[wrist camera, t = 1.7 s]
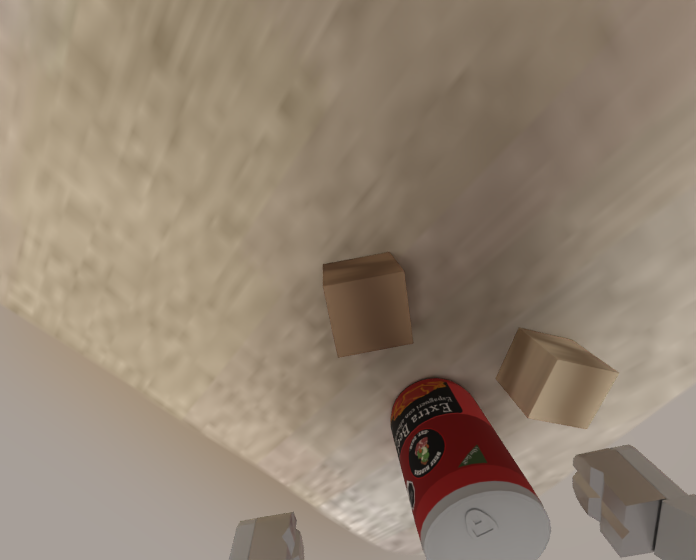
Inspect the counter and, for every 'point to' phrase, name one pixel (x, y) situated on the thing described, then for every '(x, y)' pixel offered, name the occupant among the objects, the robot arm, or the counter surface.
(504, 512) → the canned food
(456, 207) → the counter surface
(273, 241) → the counter surface
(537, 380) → the oak block
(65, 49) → the counter surface
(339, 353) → the walnut block
